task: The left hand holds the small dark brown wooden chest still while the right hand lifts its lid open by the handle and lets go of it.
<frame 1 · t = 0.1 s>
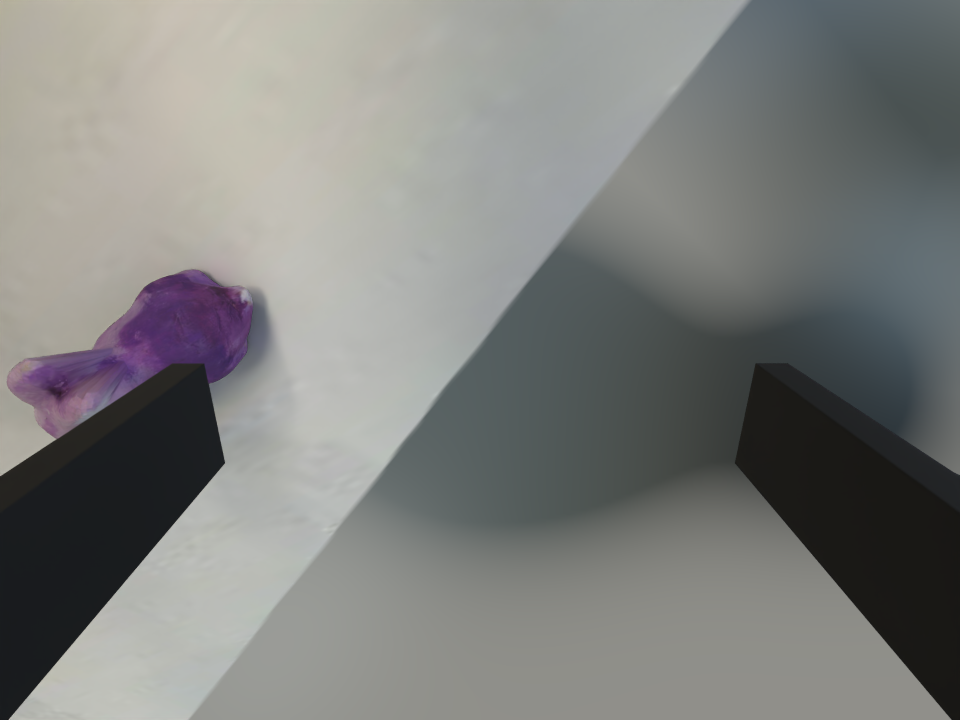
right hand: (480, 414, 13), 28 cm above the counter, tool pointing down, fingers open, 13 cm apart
figurine: (200, 329, 41), on the counter
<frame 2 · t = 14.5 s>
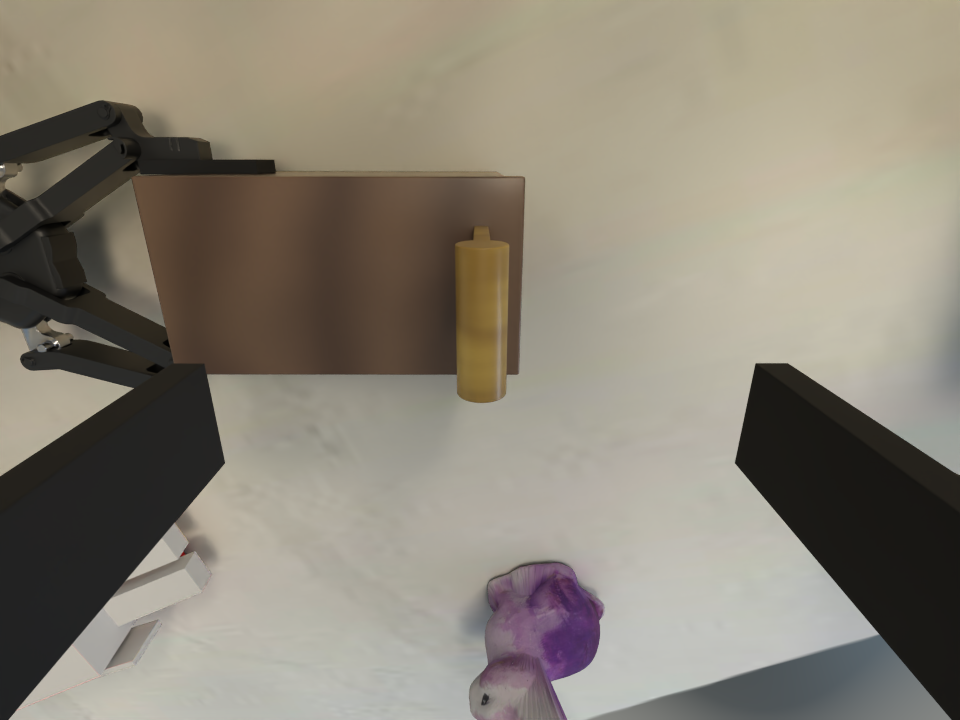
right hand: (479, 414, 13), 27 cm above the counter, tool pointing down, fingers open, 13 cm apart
figurine: (533, 594, 49), on the counter
toy: (70, 567, 48), on the counter
lid: (319, 298, 23), point 16 cm above the counter, hinge at 0.0°
chest: (375, 245, 37), on the counter, touching left hand
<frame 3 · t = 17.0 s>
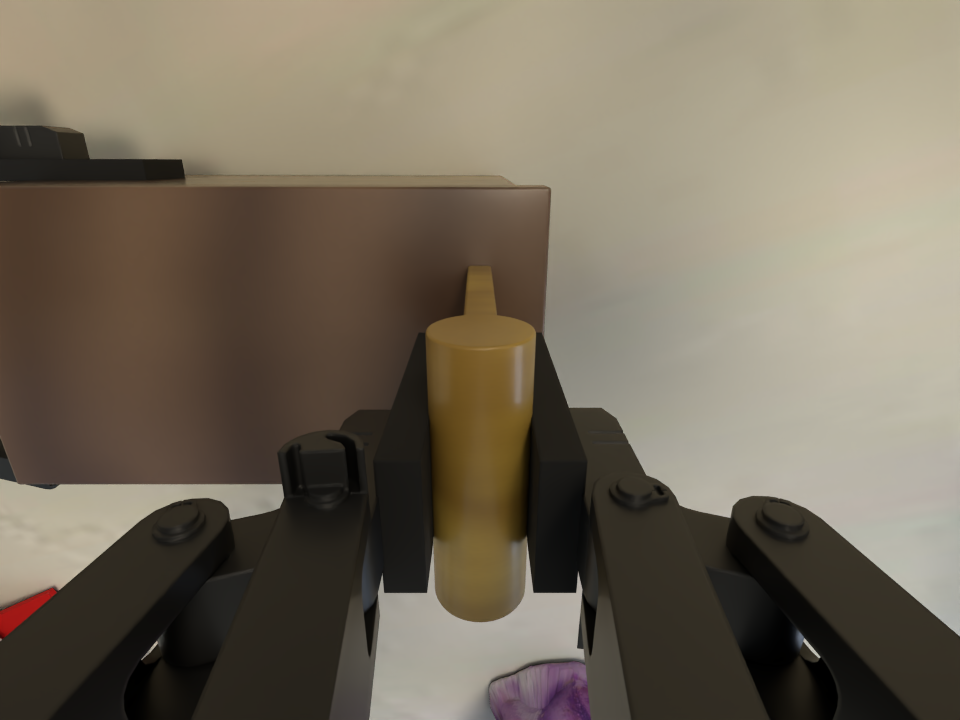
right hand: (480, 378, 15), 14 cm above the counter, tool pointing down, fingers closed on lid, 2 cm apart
figurine: (545, 696, 40), on the counter
lid: (205, 395, 13), point 16 cm above the counter, hinge at -0.1°, touching right hand
chest: (338, 273, 28), on the counter, touching left hand
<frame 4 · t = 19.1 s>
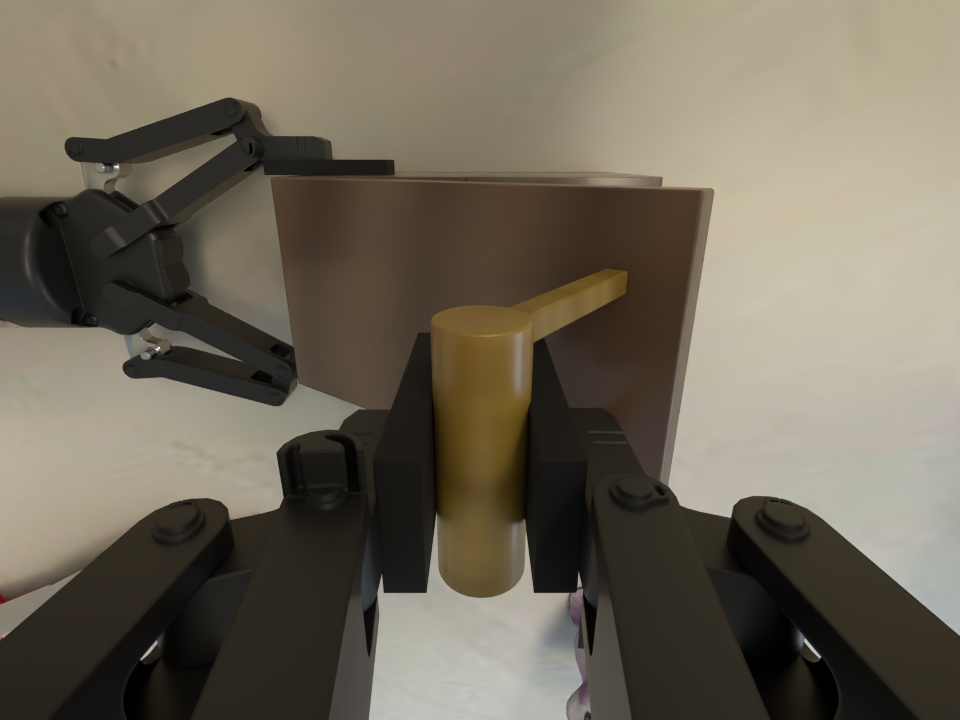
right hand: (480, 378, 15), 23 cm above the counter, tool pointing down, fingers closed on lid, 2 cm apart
left hand: (396, 264, 30), fingers closed on chest, 10 cm apart
figurine: (615, 606, 48), on the counter
toy: (142, 579, 47), on the counter
lid: (368, 342, 17), point 20 cm above the counter, hinge at 35.3°, touching right hand
chest: (476, 248, 36), on the counter, touching left hand
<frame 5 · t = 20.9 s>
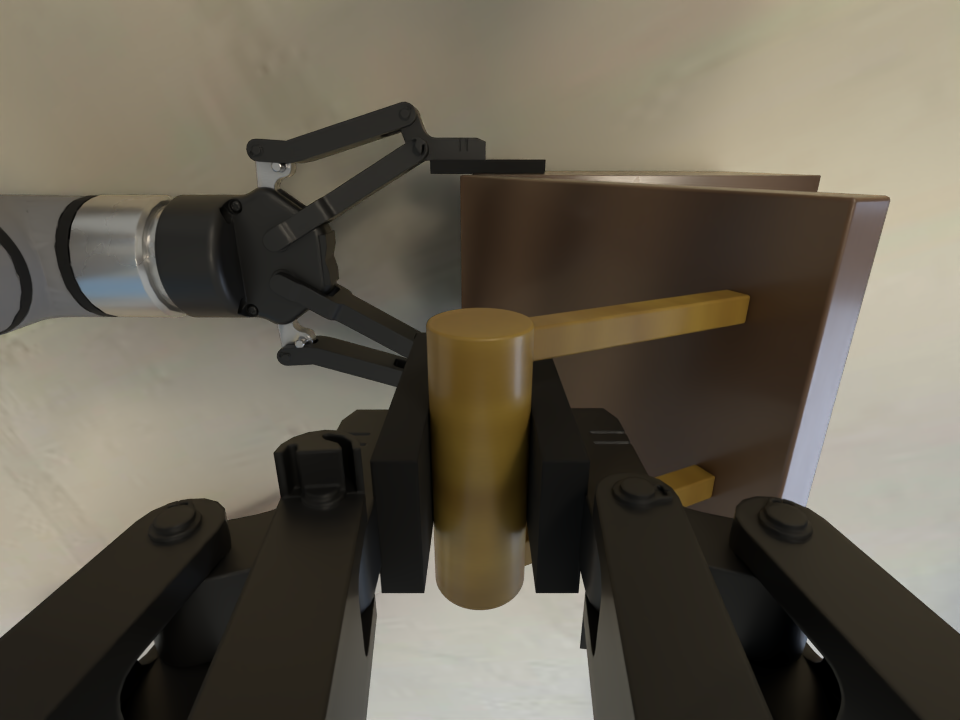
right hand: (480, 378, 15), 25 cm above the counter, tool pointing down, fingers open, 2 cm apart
left hand: (538, 258, 32), fingers closed on chest, 10 cm apart
lid: (481, 336, 18), point 22 cm above the counter, hinge at 63.7°
chest: (594, 243, 38), on the counter, touching left hand
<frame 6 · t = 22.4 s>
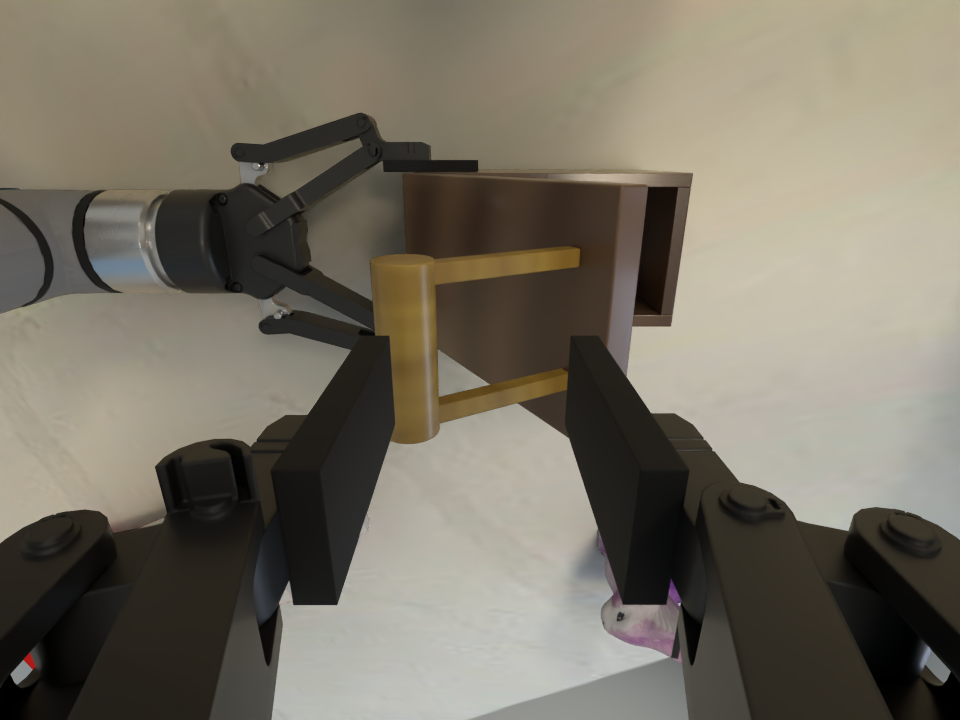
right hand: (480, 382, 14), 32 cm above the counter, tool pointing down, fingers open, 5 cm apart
left hand: (478, 242, 39), fingers closed on chest, 10 cm apart
figurine: (636, 539, 56), on the counter
toy: (234, 517, 55), on the counter
lid: (417, 291, 24), point 22 cm above the counter, hinge at 59.9°
chest: (532, 232, 44), on the counter, touching left hand
when the left hand's fingers open (6 cm above the counter, at t = 25.0 s): chest stays where it is, on the counter.
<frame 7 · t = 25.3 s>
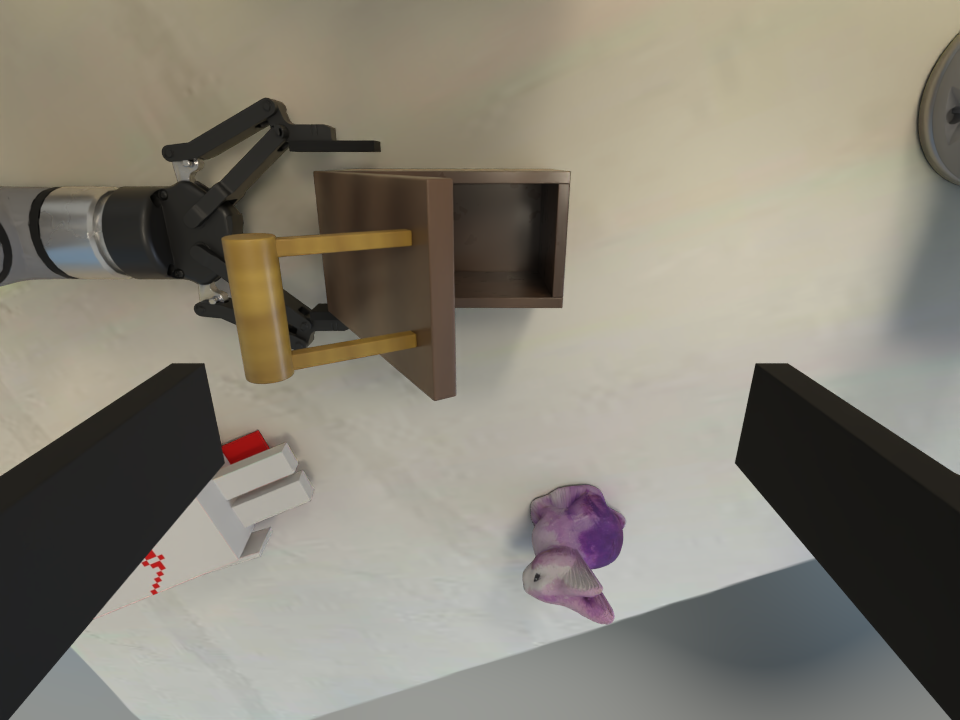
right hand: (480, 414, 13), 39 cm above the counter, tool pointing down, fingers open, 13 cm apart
left hand: (383, 233, 43), fingers open, 13 cm apart
figurine: (567, 513, 61), on the counter
toy: (194, 489, 60), on the counter
lid: (305, 270, 29), point 22 cm above the counter, hinge at 59.3°
chest: (455, 225, 49), on the counter
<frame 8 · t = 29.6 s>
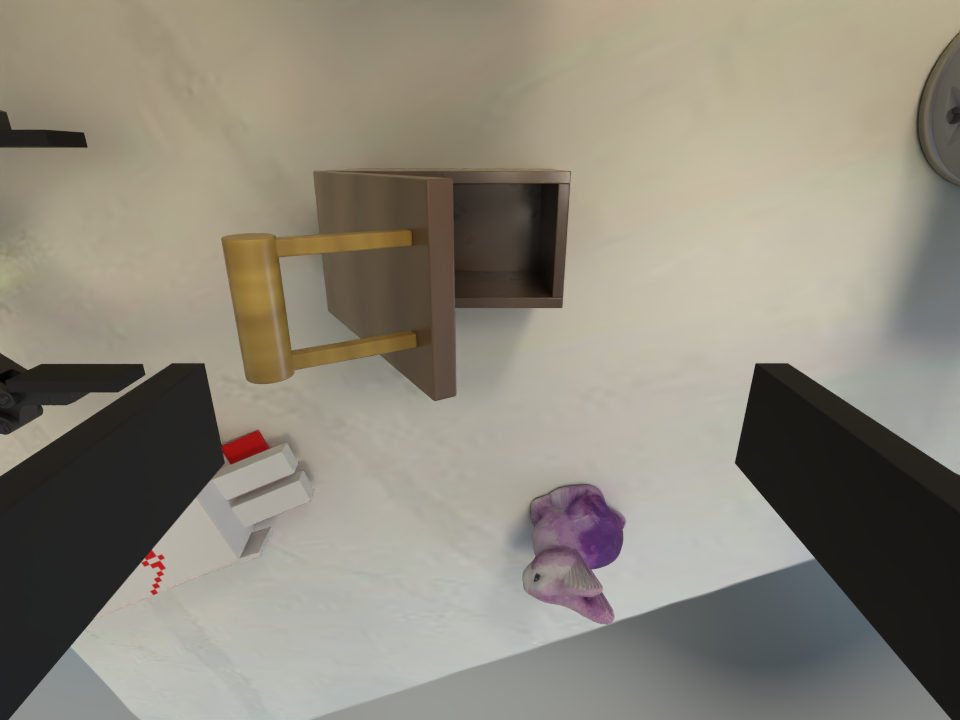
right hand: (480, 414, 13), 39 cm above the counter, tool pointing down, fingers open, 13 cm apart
figurine: (567, 513, 61), on the counter
toy: (194, 489, 60), on the counter
lid: (305, 270, 29), point 22 cm above the counter, hinge at 59.3°
chest: (455, 225, 49), on the counter
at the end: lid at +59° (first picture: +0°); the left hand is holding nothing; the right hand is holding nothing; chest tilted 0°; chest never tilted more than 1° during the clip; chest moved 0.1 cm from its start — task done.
